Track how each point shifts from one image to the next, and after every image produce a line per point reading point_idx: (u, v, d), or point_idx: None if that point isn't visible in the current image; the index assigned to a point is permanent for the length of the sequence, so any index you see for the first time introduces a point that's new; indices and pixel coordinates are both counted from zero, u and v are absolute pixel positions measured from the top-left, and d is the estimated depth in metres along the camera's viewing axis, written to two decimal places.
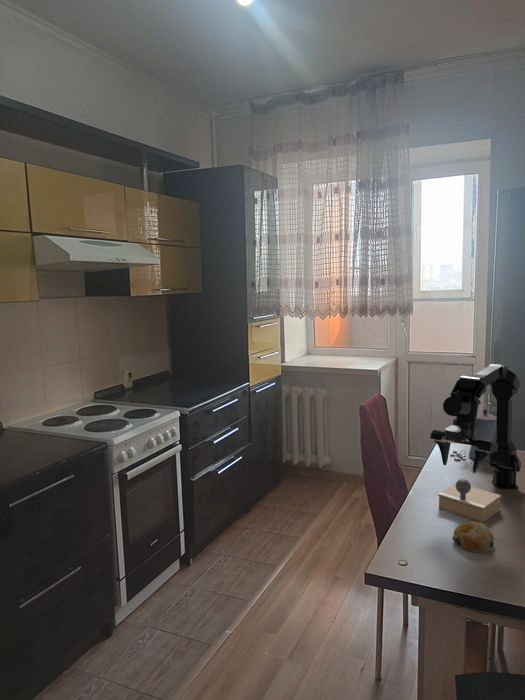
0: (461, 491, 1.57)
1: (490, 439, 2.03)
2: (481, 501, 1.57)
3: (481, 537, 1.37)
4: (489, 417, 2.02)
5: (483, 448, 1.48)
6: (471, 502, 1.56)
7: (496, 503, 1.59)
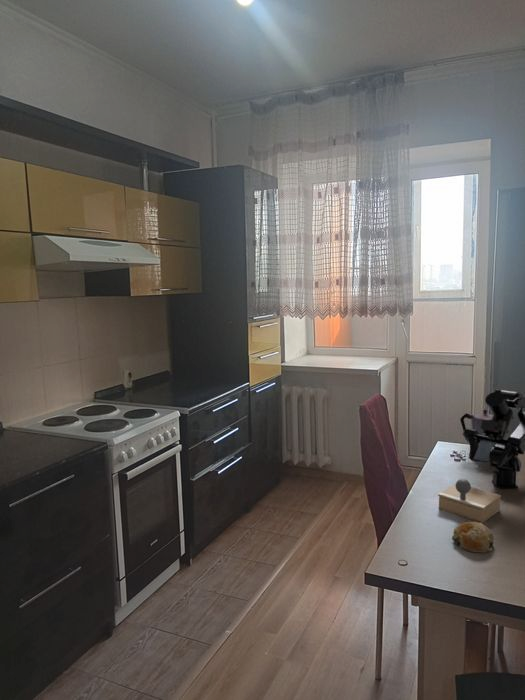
0: (461, 491, 1.57)
1: None
2: (481, 501, 1.57)
3: (481, 537, 1.37)
4: (489, 417, 2.02)
5: (514, 442, 1.63)
6: (471, 502, 1.56)
7: (496, 503, 1.59)
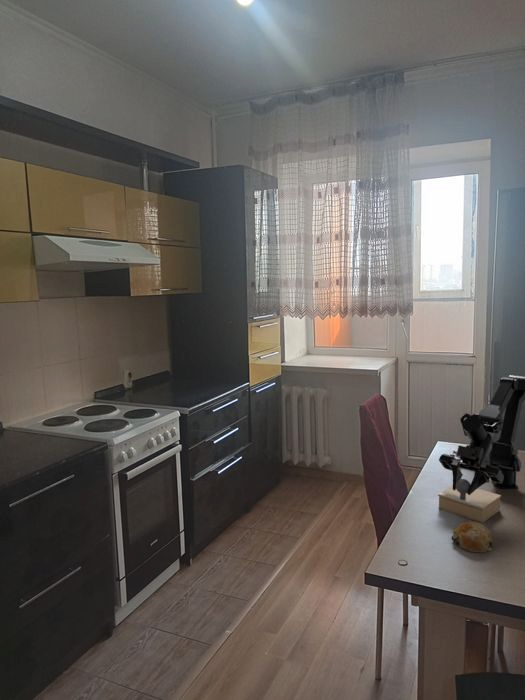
0: (461, 491, 1.57)
1: None
2: (481, 501, 1.57)
3: (480, 537, 1.37)
4: None
5: (491, 471, 1.53)
6: (471, 502, 1.56)
7: (496, 503, 1.59)
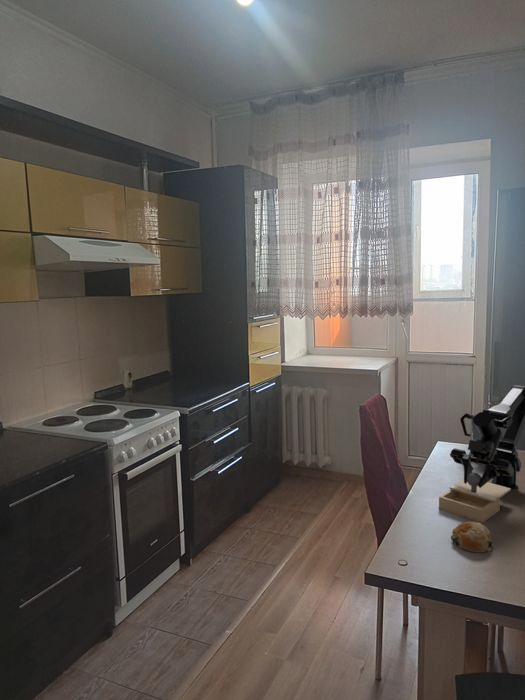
0: (472, 484, 1.62)
1: None
2: (492, 494, 1.62)
3: (480, 537, 1.37)
4: None
5: (502, 464, 1.58)
6: (482, 495, 1.61)
7: (496, 503, 1.59)
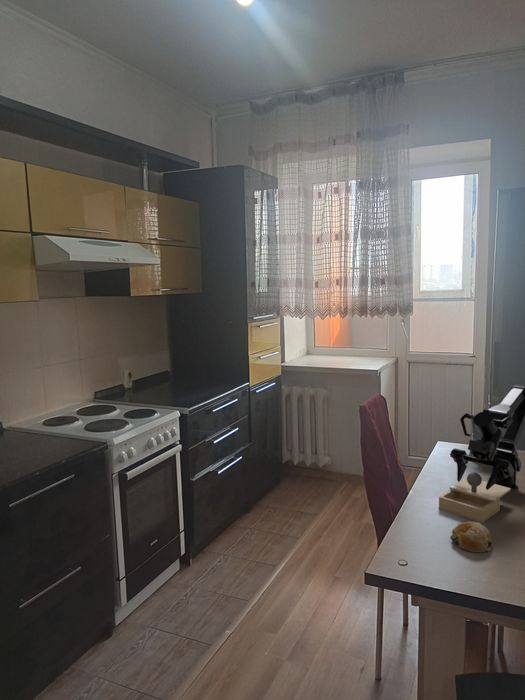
0: (472, 484, 1.62)
1: None
2: (492, 493, 1.62)
3: (479, 537, 1.37)
4: None
5: (502, 464, 1.58)
6: (482, 495, 1.61)
7: (496, 503, 1.59)
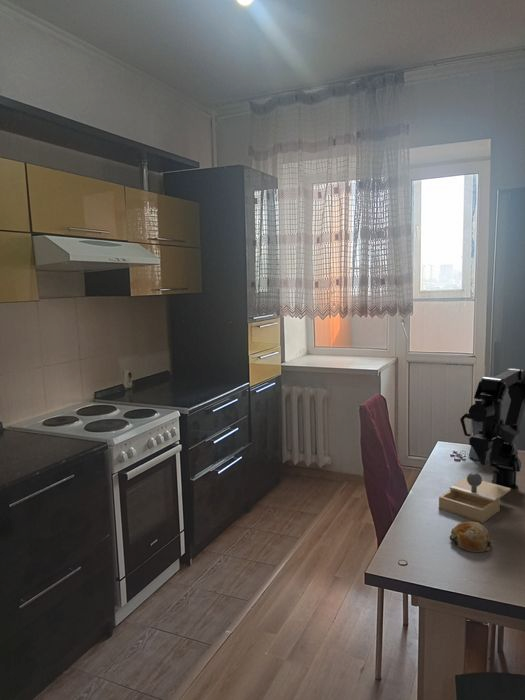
0: (472, 484, 1.62)
1: None
2: (492, 493, 1.62)
3: (478, 537, 1.37)
4: None
5: None
6: (482, 495, 1.61)
7: (496, 503, 1.59)
